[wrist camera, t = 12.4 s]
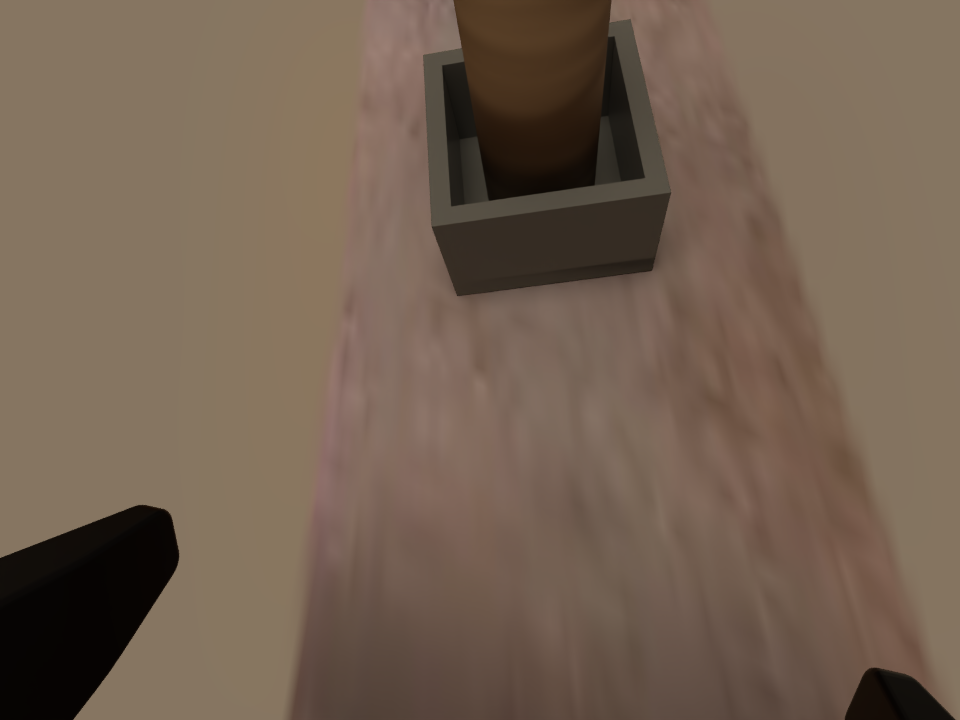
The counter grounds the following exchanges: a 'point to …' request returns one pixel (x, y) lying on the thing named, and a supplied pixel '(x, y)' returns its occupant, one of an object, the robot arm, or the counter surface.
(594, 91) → the walnut peg
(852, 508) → the counter surface
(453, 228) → the socket cup
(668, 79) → the counter surface
